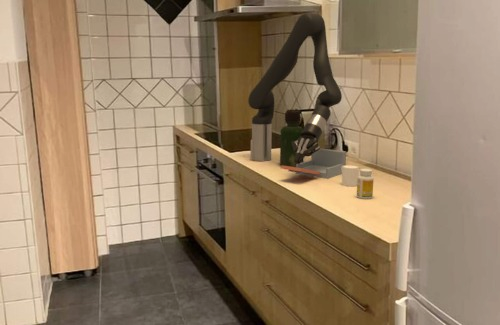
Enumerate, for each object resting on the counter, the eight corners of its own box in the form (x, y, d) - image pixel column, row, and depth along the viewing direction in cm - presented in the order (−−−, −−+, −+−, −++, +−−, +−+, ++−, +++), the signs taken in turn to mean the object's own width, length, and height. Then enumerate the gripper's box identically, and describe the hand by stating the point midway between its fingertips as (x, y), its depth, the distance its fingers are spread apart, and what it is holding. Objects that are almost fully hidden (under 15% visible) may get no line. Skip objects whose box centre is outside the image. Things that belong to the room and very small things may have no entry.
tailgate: (300, 168, 209) (281, 165, 197) (320, 171, 204) (301, 168, 192) (300, 173, 209) (280, 169, 197) (319, 176, 204) (300, 172, 192)
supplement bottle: (353, 197, 175) (354, 169, 173) (361, 194, 179) (363, 167, 177) (367, 200, 172) (368, 172, 170) (375, 197, 176) (376, 169, 174)
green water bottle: (307, 167, 225) (308, 110, 220) (285, 168, 222) (286, 111, 217) (297, 163, 235) (299, 108, 230) (276, 164, 231) (277, 109, 227)
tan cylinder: (337, 183, 195) (337, 165, 194) (352, 182, 198) (353, 164, 196) (346, 187, 189) (347, 169, 188) (362, 186, 191) (363, 167, 190)
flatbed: (314, 167, 224) (315, 147, 222) (345, 172, 215) (346, 151, 213) (296, 173, 212) (296, 152, 211) (327, 178, 203) (328, 156, 202)
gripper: (296, 121, 207) (278, 155, 200) (325, 123, 199) (307, 159, 192) (303, 132, 212) (286, 166, 205) (331, 135, 204) (314, 170, 197)
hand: (296, 162), depth 198 cm, fingers closed
